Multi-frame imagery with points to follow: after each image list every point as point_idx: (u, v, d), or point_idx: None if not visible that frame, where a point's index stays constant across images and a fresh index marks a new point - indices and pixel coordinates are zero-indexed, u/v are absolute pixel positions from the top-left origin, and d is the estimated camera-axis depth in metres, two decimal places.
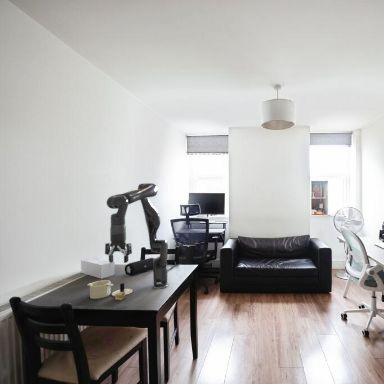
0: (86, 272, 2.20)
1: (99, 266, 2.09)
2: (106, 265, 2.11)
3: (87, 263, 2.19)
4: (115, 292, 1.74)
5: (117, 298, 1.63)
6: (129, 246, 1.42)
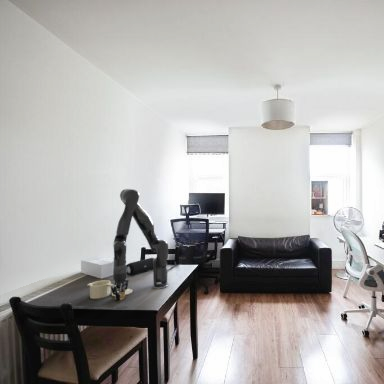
0: (86, 272, 2.20)
1: (99, 266, 2.09)
2: (106, 265, 2.11)
3: (87, 263, 2.19)
4: None
5: None
6: (112, 289, 1.59)
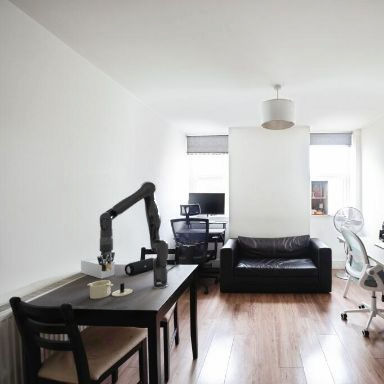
0: (86, 272, 2.20)
1: (99, 266, 2.09)
2: None
3: (87, 263, 2.19)
4: (115, 292, 1.74)
5: None
6: (98, 259, 1.63)
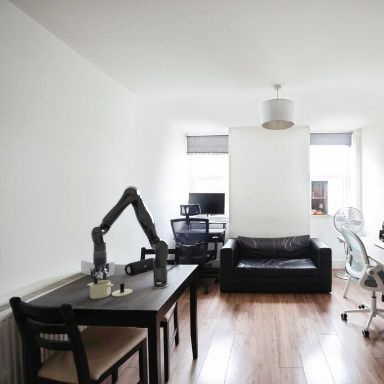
0: (86, 272, 2.20)
1: None
2: None
3: (87, 263, 2.19)
4: (115, 292, 1.74)
5: None
6: (91, 271, 1.65)
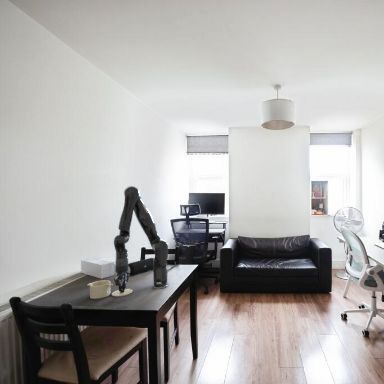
0: (86, 272, 2.20)
1: (99, 266, 2.09)
2: (106, 265, 2.11)
3: (87, 263, 2.19)
4: (115, 292, 1.74)
5: None
6: (115, 281, 1.69)
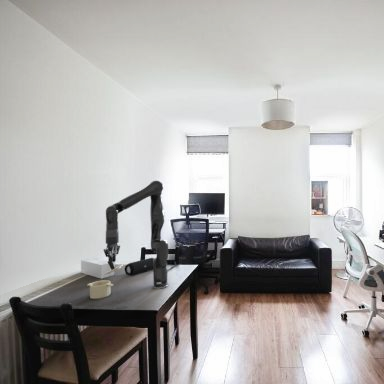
0: (86, 272, 2.20)
1: (99, 266, 2.09)
2: (106, 265, 2.11)
3: (87, 263, 2.19)
4: None
5: None
6: (105, 251, 1.68)
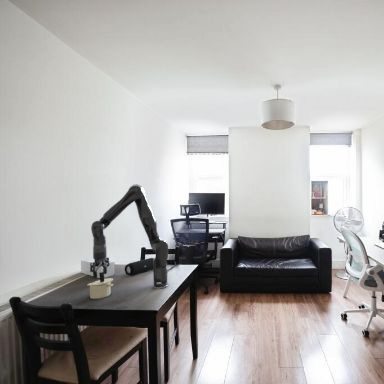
0: (86, 272, 2.20)
1: None
2: None
3: (87, 263, 2.19)
4: (95, 282, 1.71)
5: None
6: (91, 265, 1.65)
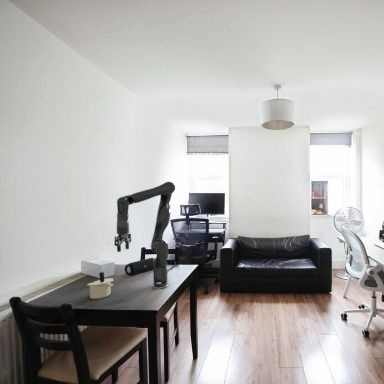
0: (86, 272, 2.20)
1: (99, 266, 2.09)
2: (106, 265, 2.11)
3: (87, 263, 2.19)
4: (95, 282, 1.71)
5: None
6: (115, 239, 1.71)
